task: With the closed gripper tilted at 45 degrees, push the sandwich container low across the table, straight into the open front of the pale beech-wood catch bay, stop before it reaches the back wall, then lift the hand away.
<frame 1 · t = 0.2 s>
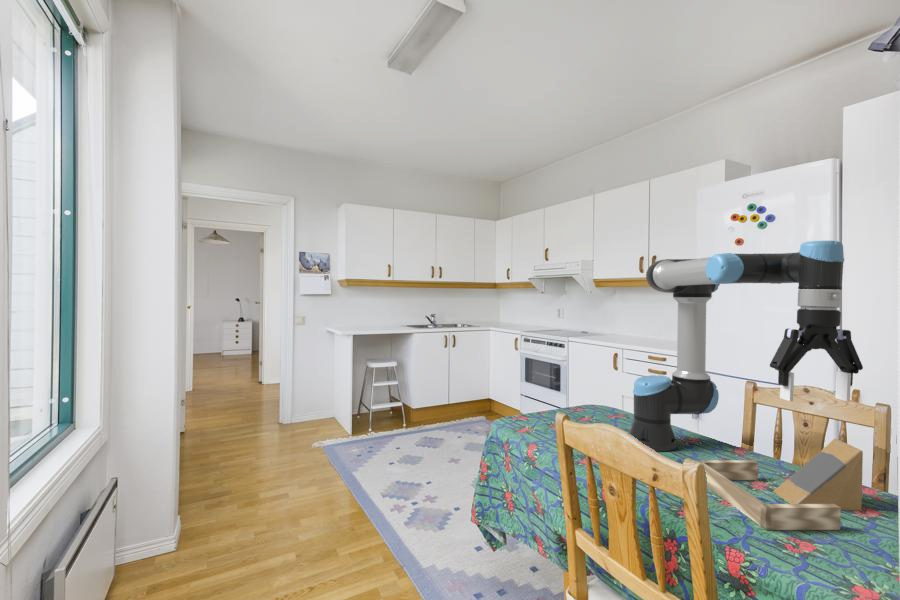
hand: (814, 400, 96), 28 cm above the table, tool pointing down, fingers open, 13 cm apart
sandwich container: (814, 501, 105), on the table
catch bay: (770, 500, 105), on the table
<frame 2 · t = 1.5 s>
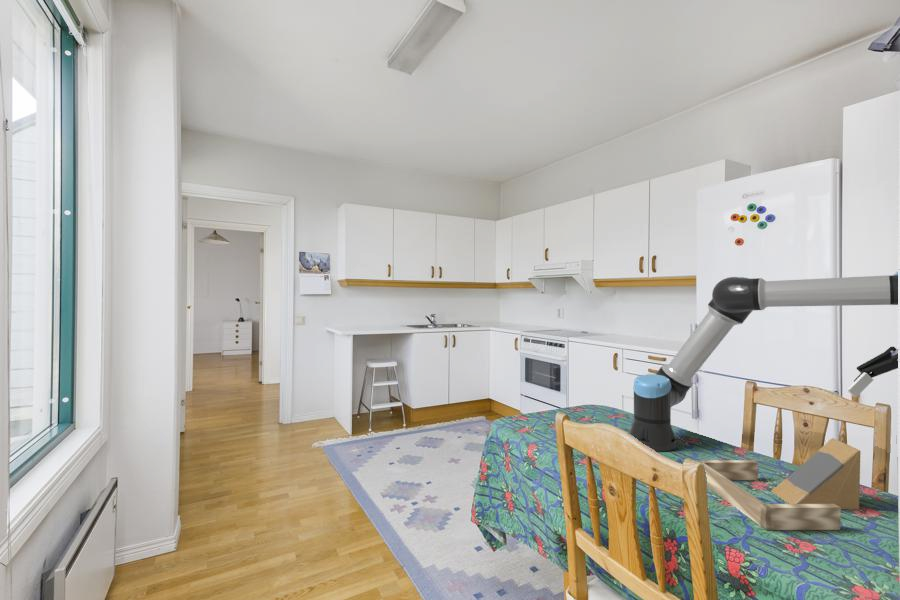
hand: (876, 399, 105), 26 cm above the table, tool tilted 45°, fingers open, 12 cm apart
nothing on the table moved.
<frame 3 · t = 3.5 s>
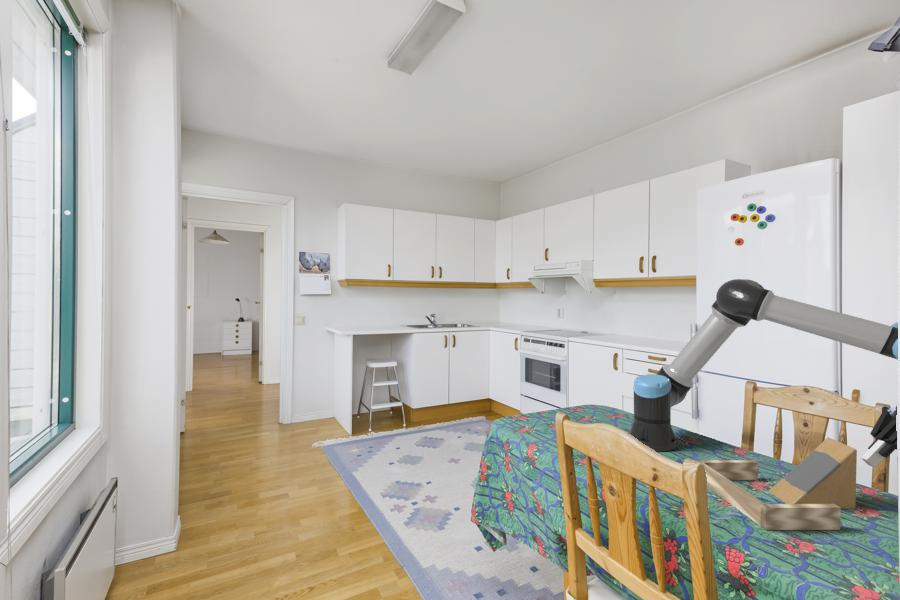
hand: (867, 462, 105), 10 cm above the table, tool tilted 45°, fingers closed
nothing on the table moved.
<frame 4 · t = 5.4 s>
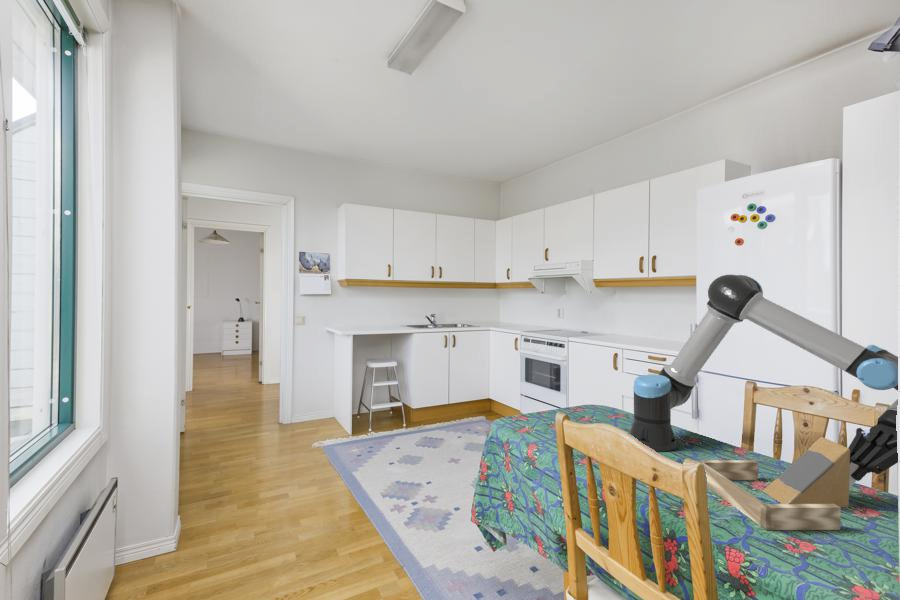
hand: (840, 485, 105), 4 cm above the table, tool tilted 45°, fingers closed
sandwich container: (803, 500, 106), on the table, touching gripper
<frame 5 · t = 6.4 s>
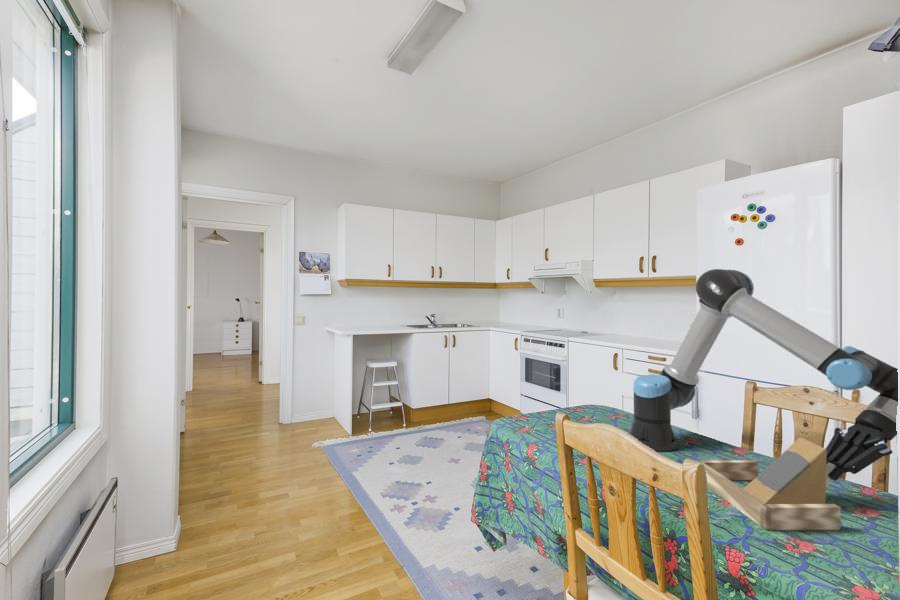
hand: (817, 485, 105), 4 cm above the table, tool tilted 45°, fingers closed
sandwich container: (780, 500, 106), on the table, touching gripper
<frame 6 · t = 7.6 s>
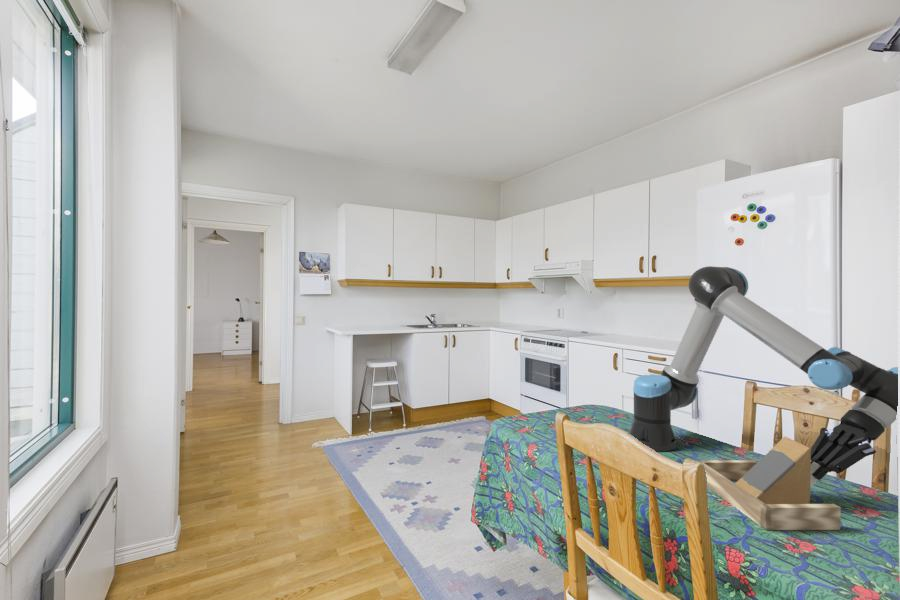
hand: (801, 484, 105), 4 cm above the table, tool tilted 45°, fingers closed
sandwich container: (766, 499, 106), on the table
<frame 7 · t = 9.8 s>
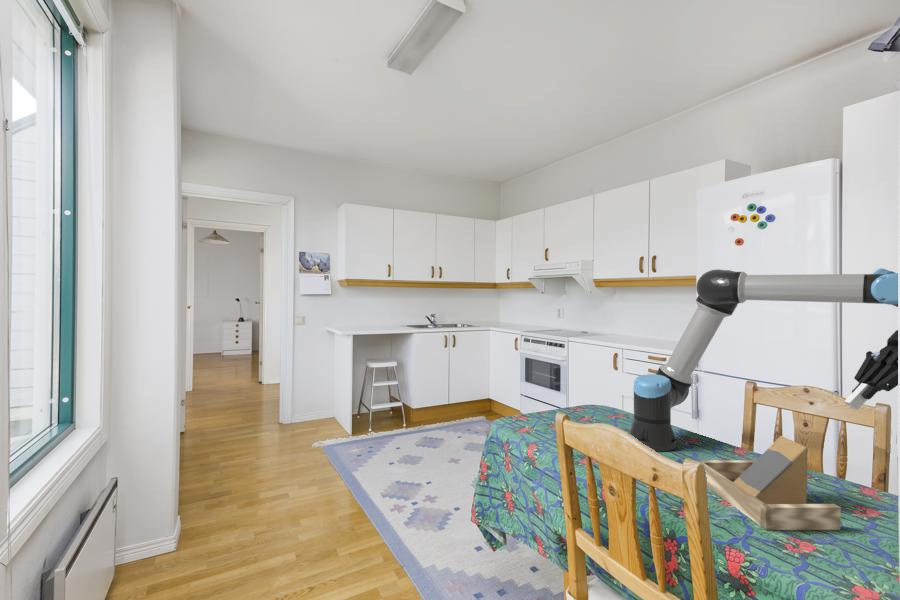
hand: (850, 405, 106), 24 cm above the table, tool tilted 40°, fingers closed
nothing on the table moved.
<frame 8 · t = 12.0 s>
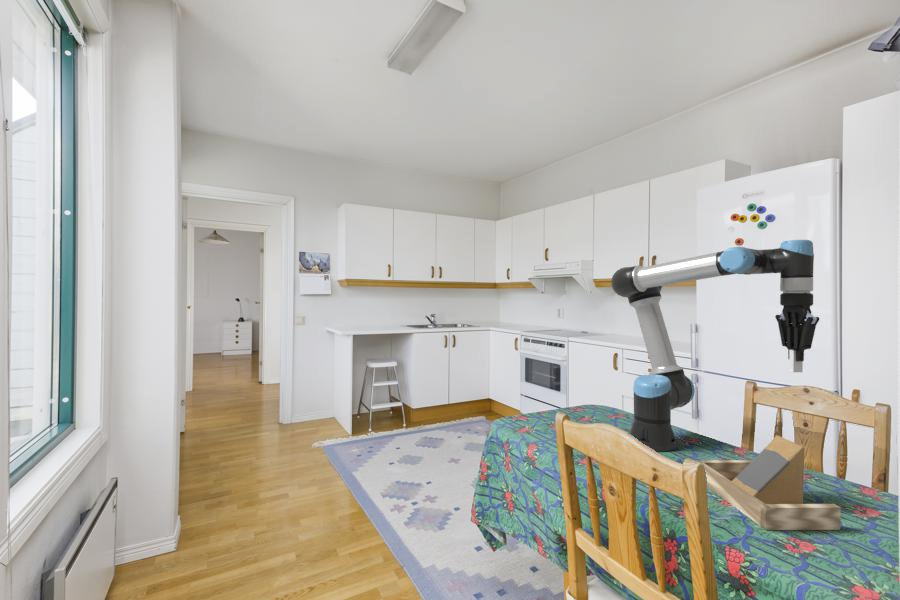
hand: (795, 371, 123), 29 cm above the table, tool pointing down, fingers closed
at the end: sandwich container 2.1 cm from the catch bay (horizontally); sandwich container tilted 0°; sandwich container moved 12.9 cm from its start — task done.
